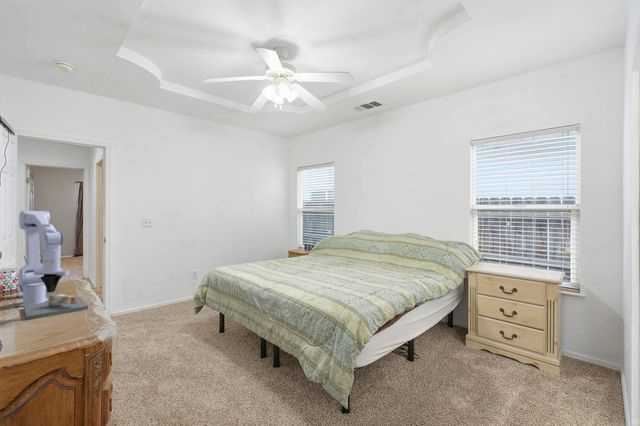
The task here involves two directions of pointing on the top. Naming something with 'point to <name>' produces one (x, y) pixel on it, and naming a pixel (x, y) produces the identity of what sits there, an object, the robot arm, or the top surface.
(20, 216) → the robot arm
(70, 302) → the grey beige handled piece
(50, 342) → the top surface
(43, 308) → the latch plate
